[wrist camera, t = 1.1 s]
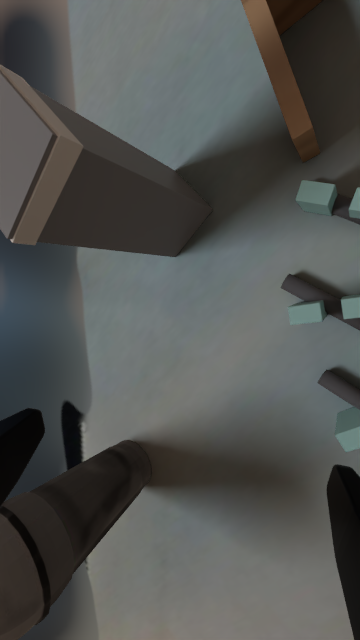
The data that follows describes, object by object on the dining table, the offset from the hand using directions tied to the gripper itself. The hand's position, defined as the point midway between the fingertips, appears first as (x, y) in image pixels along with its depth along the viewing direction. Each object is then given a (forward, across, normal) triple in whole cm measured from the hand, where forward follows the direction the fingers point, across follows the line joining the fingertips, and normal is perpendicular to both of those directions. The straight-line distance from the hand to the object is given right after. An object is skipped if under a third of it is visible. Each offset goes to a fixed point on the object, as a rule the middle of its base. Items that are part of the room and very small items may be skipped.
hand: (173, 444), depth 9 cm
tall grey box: (+17, +4, -5) cm, 18 cm away
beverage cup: (+13, +7, +17) cm, 22 cm away
